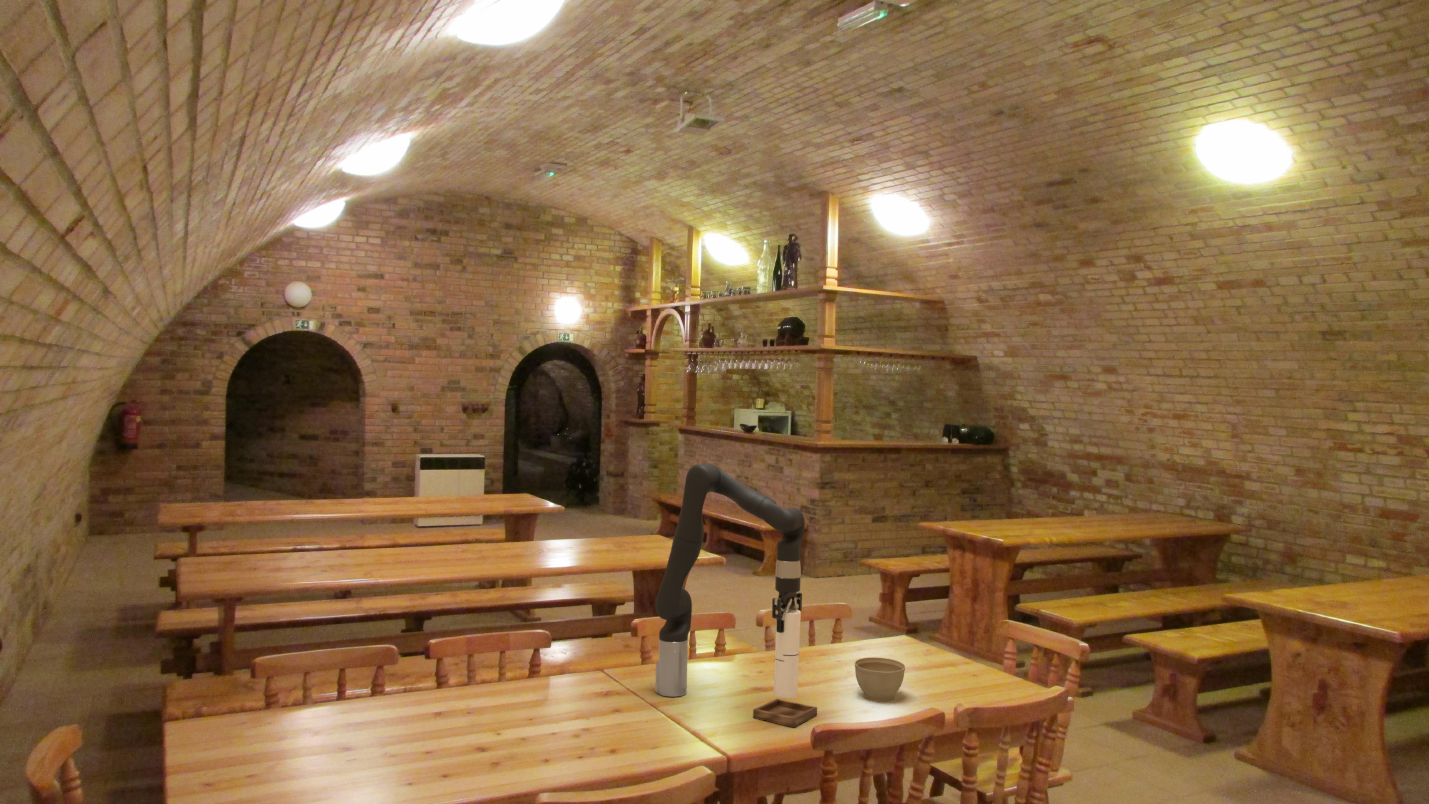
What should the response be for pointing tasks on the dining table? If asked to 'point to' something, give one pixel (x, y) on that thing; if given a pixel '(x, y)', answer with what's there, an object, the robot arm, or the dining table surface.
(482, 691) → the dining table surface
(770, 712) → the walnut tray
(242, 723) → the dining table surface
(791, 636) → the cylindrical container
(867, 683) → the planter bowl
